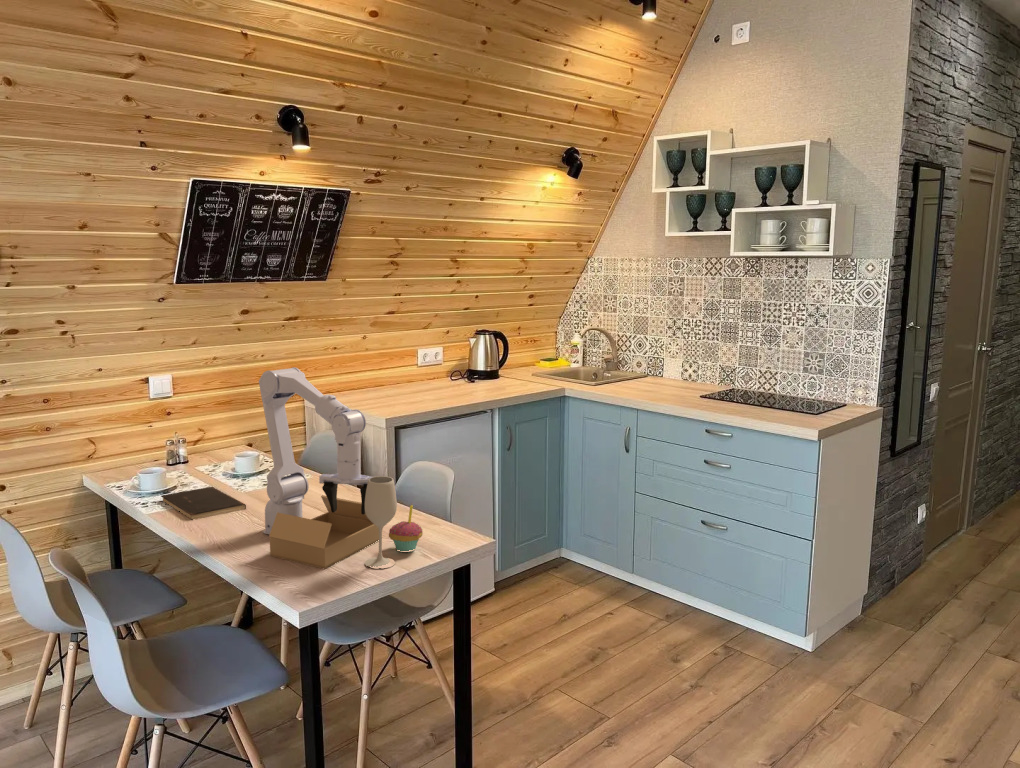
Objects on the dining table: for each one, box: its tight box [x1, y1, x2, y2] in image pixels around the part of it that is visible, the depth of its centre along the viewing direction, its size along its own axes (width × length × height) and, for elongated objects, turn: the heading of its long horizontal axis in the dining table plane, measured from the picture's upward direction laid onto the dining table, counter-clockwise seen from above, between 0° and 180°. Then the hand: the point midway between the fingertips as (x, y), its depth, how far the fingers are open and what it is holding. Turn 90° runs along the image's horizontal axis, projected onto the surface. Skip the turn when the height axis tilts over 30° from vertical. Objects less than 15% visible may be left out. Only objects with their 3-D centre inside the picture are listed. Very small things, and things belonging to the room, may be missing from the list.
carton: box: [269, 511, 379, 570], centre depth 198 cm, size 17×22×5 cm
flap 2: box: [320, 494, 369, 520], centre depth 205 cm, size 17×6×1 cm
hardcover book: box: [160, 486, 247, 520], centre depth 230 cm, size 16×23×2 cm
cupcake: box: [388, 503, 424, 551], centre depth 197 cm, size 9×8×12 cm
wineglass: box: [364, 475, 398, 567], centre depth 187 cm, size 8×8×21 cm
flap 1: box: [268, 512, 332, 549], centre depth 188 cm, size 17×6×1 cm
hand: (349, 512), depth 195 cm, fingers open, 7 cm apart
